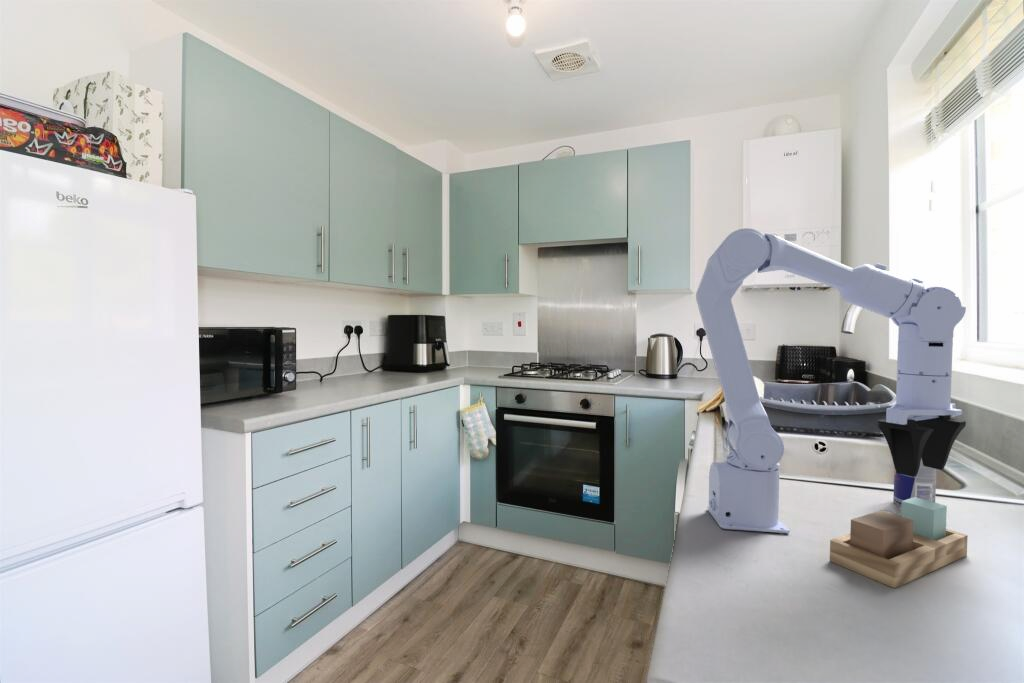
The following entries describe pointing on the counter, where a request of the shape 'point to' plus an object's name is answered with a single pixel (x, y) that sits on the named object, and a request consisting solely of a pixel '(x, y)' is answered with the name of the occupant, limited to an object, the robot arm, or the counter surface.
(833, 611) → the counter surface
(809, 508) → the counter surface
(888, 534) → the tan cardboard box
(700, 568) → the counter surface
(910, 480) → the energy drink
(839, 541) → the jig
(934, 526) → the block
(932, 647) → the counter surface
